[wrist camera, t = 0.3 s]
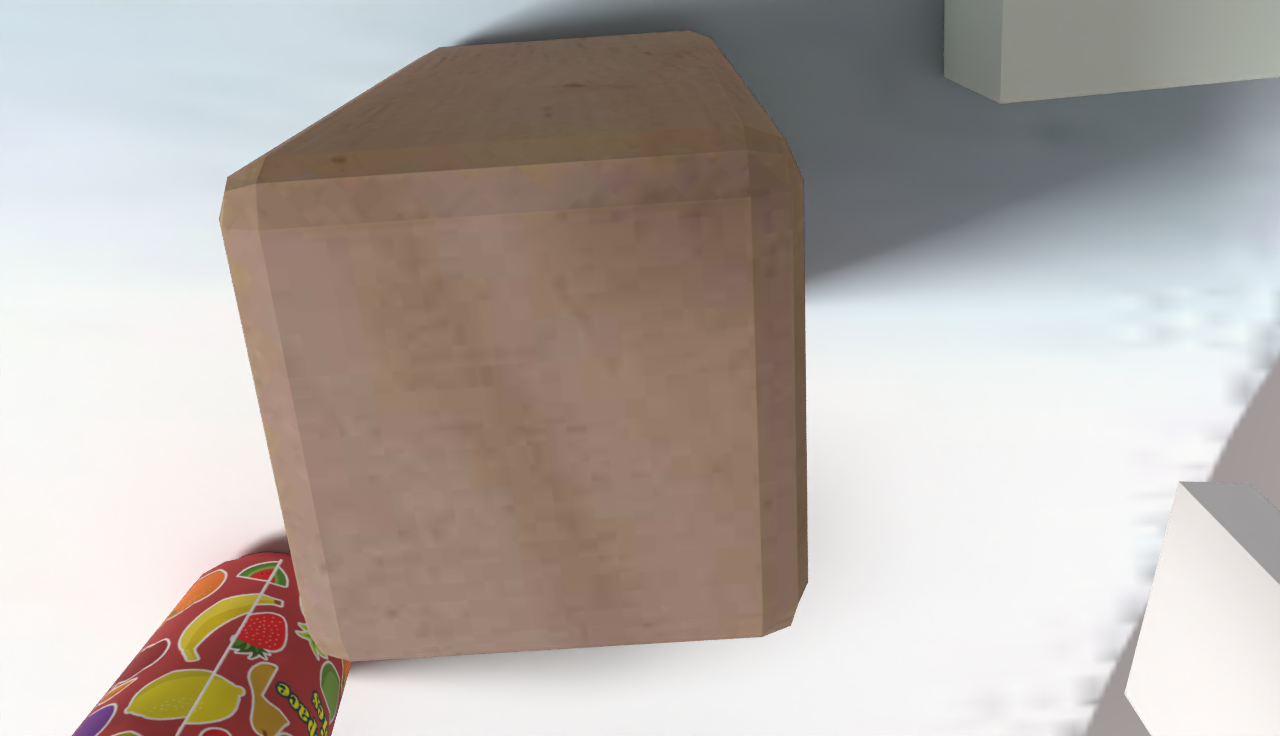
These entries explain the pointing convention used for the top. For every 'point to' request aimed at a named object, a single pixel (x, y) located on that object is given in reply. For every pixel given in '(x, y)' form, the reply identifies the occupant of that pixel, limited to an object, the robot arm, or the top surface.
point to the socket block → (1106, 45)
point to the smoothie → (228, 663)
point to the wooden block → (533, 351)
